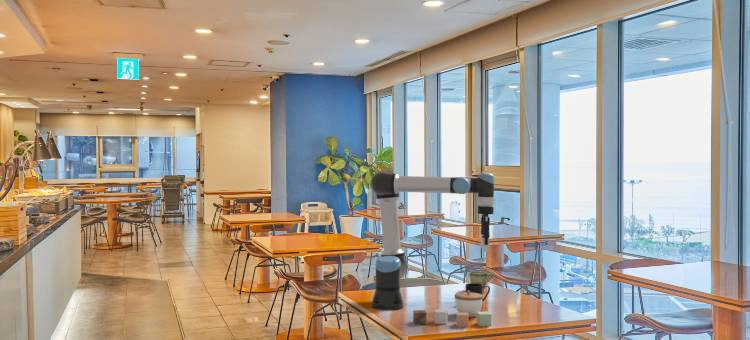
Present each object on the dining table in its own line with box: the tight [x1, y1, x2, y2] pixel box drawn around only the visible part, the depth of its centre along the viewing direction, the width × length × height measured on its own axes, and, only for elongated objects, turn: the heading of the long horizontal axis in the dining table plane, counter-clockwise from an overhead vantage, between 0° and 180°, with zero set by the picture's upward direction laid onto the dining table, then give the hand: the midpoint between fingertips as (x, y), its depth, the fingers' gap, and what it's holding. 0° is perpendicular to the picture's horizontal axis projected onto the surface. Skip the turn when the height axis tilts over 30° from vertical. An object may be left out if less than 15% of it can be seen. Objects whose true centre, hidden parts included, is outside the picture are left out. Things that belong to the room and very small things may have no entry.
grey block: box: [434, 308, 449, 325], centre depth 274 cm, size 5×5×5 cm
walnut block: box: [412, 309, 427, 326], centre depth 272 cm, size 5×5×5 cm
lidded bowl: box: [454, 290, 484, 318], centre depth 288 cm, size 13×13×11 cm
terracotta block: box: [455, 311, 470, 328], centre depth 269 cm, size 5×5×5 cm
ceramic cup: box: [468, 270, 494, 292], centre depth 347 cm, size 13×10×10 cm
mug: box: [465, 283, 491, 304], centre depth 312 cm, size 8×12×10 cm
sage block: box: [475, 311, 492, 327], centre depth 271 cm, size 5×5×5 cm
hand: (484, 250), depth 306 cm, fingers open, 13 cm apart
